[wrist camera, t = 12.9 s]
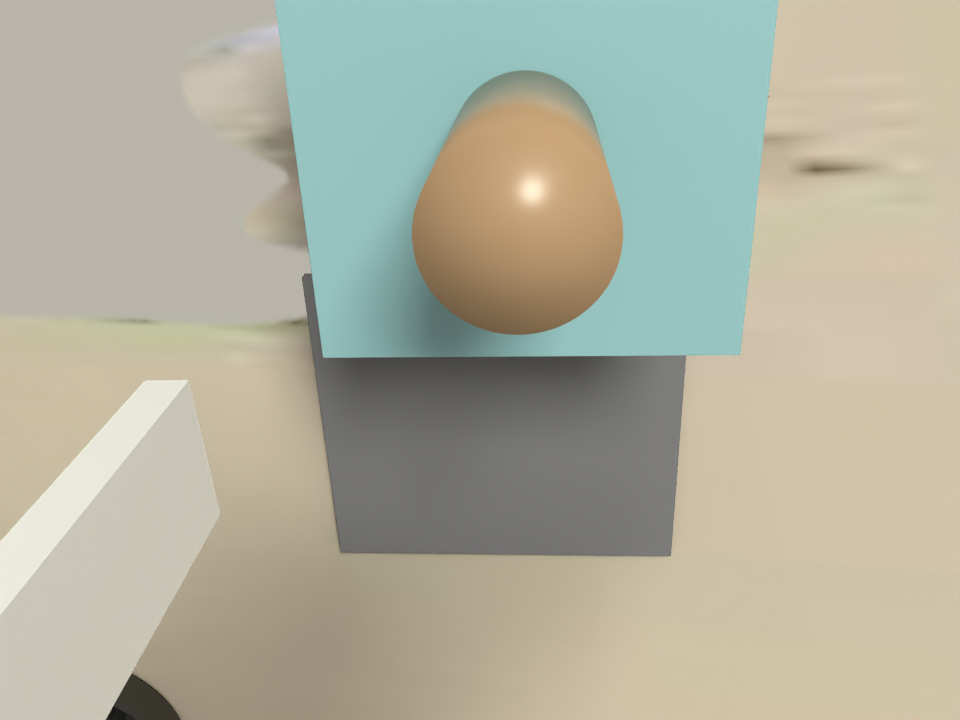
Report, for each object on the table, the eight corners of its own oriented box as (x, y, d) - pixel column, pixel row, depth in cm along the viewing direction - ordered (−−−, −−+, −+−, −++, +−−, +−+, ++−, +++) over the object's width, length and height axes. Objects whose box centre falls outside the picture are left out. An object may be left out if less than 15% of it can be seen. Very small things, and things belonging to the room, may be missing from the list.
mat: (343, 546, 53) (341, 552, 52) (304, 273, 45) (302, 277, 44) (669, 549, 51) (670, 556, 50) (690, 268, 43) (692, 272, 42)
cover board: (328, 346, 34) (242, 512, 24) (269, -108, 27) (112, -135, 17) (734, 343, 33) (817, 516, 23) (784, -133, 26) (934, -178, 16)
